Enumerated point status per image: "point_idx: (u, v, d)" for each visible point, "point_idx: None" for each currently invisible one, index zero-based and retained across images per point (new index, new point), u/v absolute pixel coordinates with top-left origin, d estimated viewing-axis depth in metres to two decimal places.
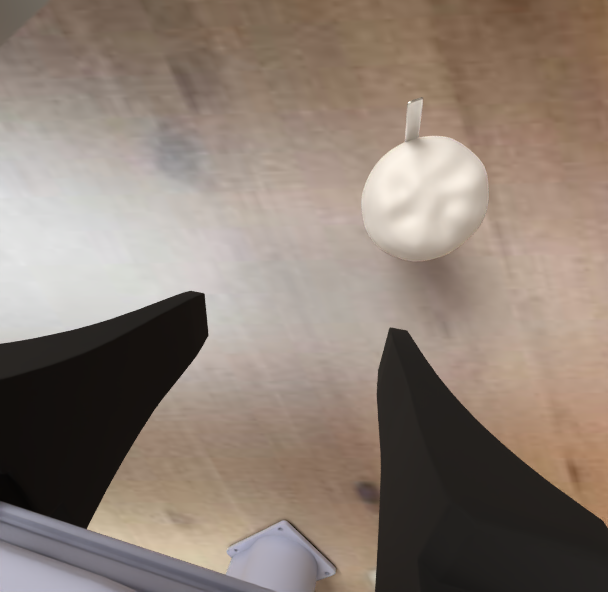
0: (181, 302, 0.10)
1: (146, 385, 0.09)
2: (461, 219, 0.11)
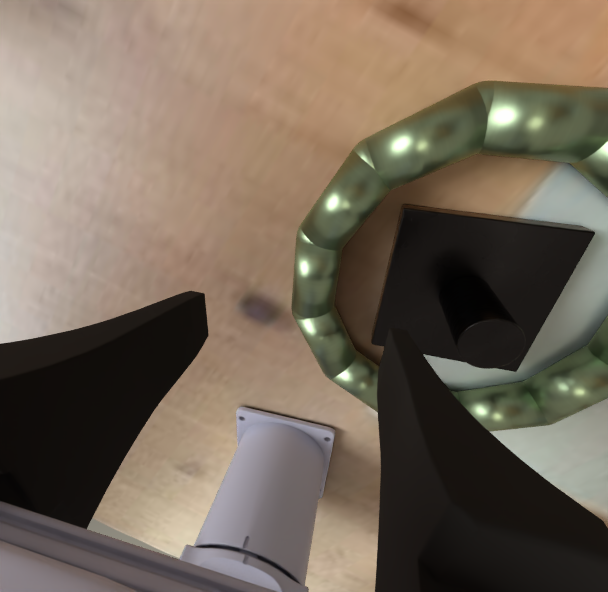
0: (181, 302, 0.10)
1: (146, 385, 0.09)
2: None
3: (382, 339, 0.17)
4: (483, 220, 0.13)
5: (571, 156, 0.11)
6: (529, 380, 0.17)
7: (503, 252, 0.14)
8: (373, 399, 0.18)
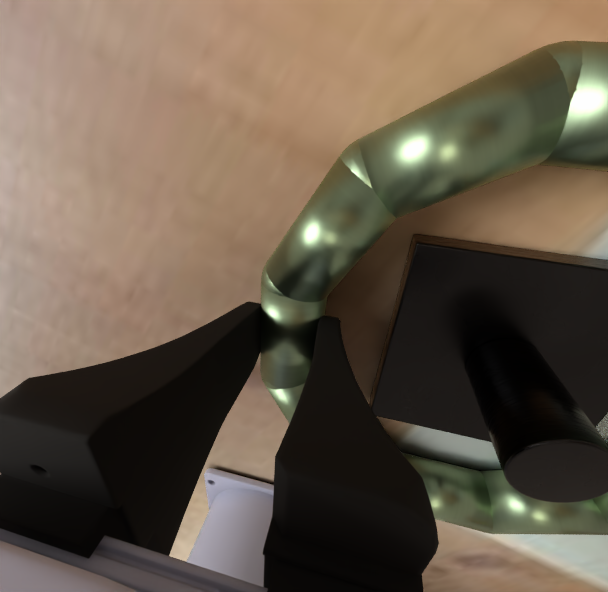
0: (247, 315, 0.10)
1: (217, 402, 0.09)
2: None
3: (384, 410, 0.13)
4: (538, 262, 0.09)
5: None
6: None
7: (565, 308, 0.09)
8: None
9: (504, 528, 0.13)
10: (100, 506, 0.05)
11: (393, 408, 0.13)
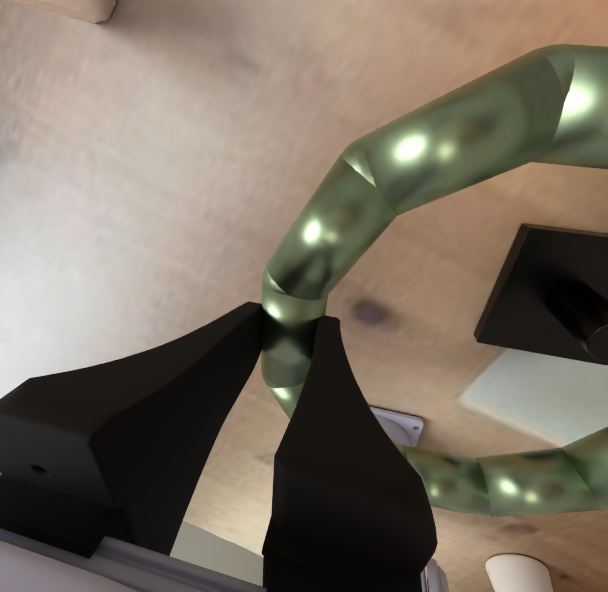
0: (247, 315, 0.10)
1: (218, 402, 0.09)
2: None
3: (488, 338, 0.20)
4: (599, 238, 0.16)
5: None
6: (572, 449, 0.13)
7: None
8: None
9: (500, 511, 0.13)
10: (101, 506, 0.05)
11: (495, 336, 0.20)
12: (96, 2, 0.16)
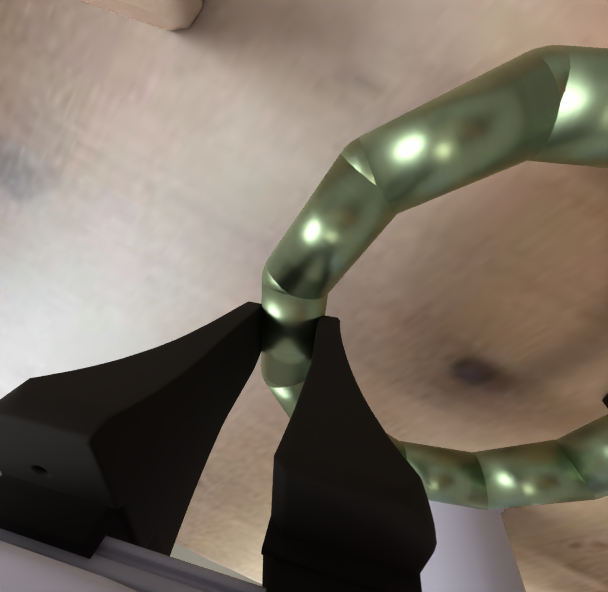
0: (247, 315, 0.10)
1: (218, 402, 0.09)
2: None
3: None
4: None
5: None
6: (566, 441, 0.14)
7: None
8: None
9: (498, 503, 0.14)
10: (101, 506, 0.05)
11: None
12: (183, 5, 0.12)
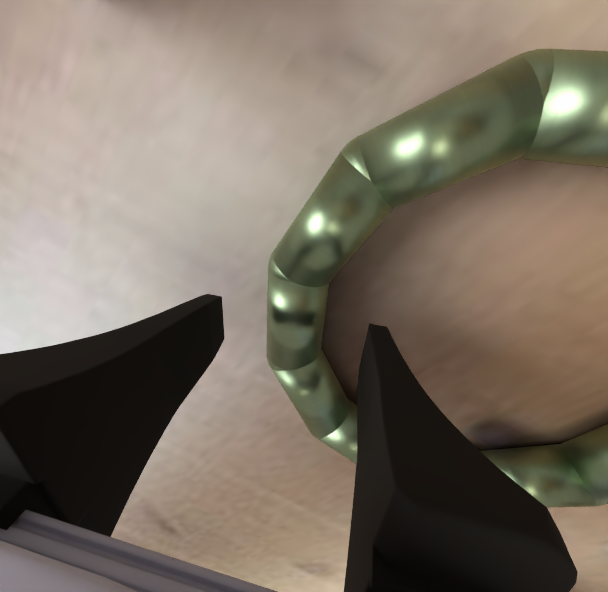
0: (200, 306, 0.10)
1: (167, 390, 0.09)
2: None
3: None
4: None
5: None
6: (570, 445, 0.13)
7: None
8: None
9: None
10: (19, 481, 0.05)
11: None
12: None
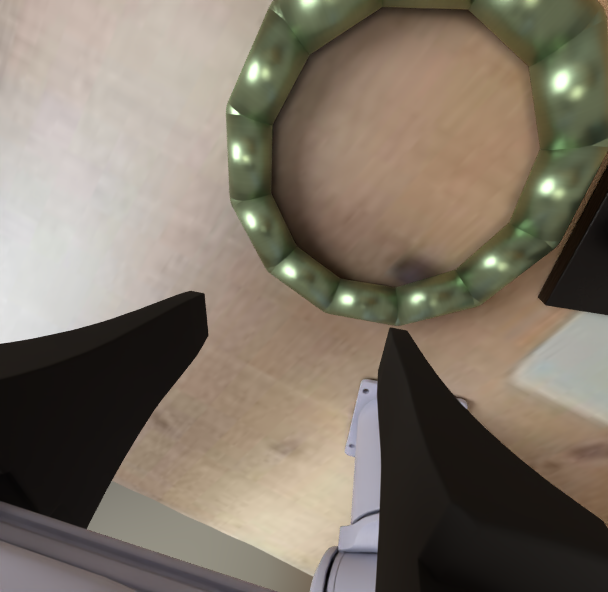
0: (181, 302, 0.10)
1: (146, 385, 0.09)
2: None
3: (560, 299, 0.17)
4: None
5: None
6: (460, 266, 0.18)
7: None
8: (312, 290, 0.19)
9: (405, 313, 0.18)
10: None
11: (568, 297, 0.17)
12: None
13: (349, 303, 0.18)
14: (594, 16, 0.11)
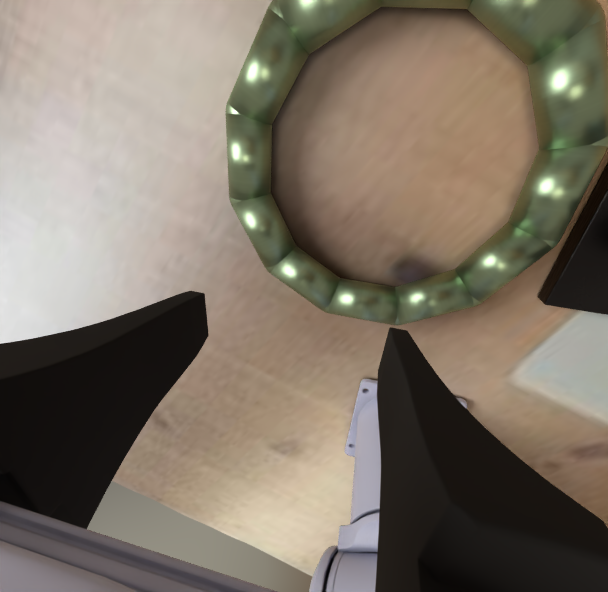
0: (181, 302, 0.10)
1: (146, 385, 0.09)
2: None
3: (559, 298, 0.17)
4: None
5: None
6: (459, 265, 0.18)
7: None
8: (311, 290, 0.19)
9: (404, 312, 0.18)
10: None
11: (567, 296, 0.17)
12: None
13: (349, 302, 0.18)
14: (592, 15, 0.11)
